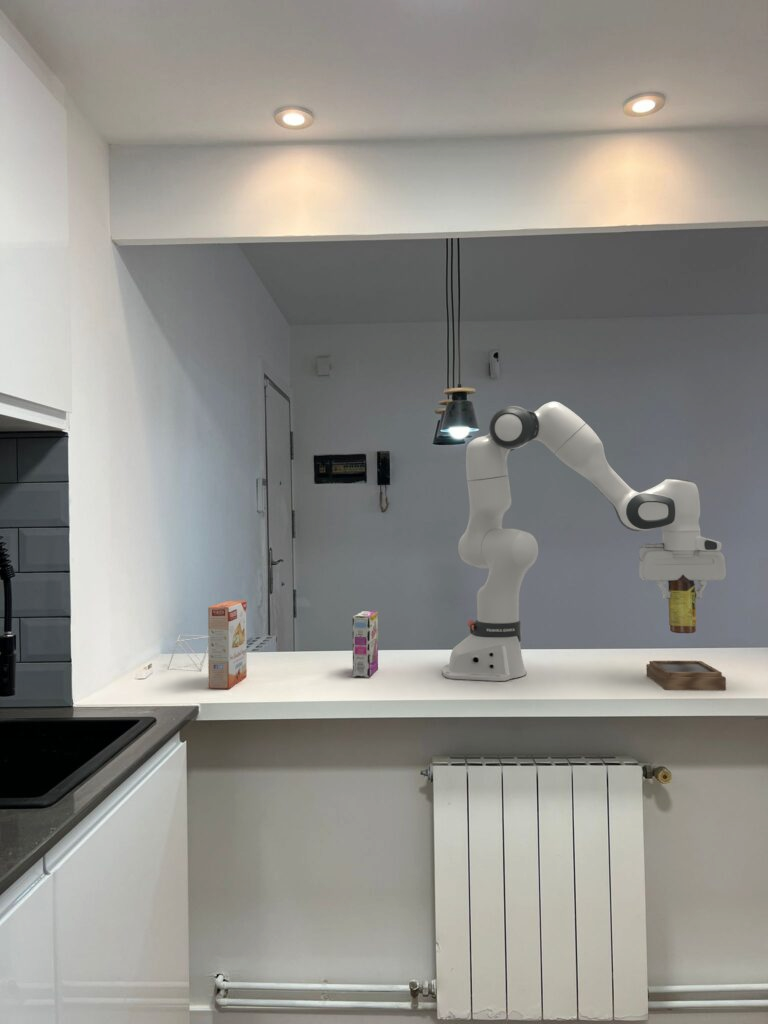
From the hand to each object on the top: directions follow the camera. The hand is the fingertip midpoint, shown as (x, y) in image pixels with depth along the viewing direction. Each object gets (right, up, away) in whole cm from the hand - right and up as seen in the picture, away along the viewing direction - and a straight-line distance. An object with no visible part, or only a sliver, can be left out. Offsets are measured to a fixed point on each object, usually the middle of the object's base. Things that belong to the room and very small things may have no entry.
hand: (682, 598), depth 172 cm
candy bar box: (-80, -23, +16) cm, 84 cm away
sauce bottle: (0, -9, 0) cm, 9 cm away
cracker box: (-115, -23, +8) cm, 118 cm away
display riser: (0, -21, 0) cm, 21 cm away
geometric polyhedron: (-131, -24, +27) cm, 136 cm away
